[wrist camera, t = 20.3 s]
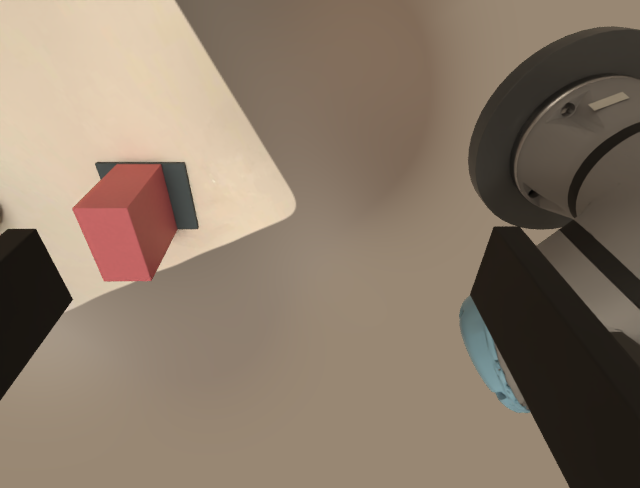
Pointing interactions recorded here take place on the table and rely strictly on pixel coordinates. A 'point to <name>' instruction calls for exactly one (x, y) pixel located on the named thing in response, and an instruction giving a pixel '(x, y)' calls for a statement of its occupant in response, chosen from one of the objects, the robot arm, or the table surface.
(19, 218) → the table surface
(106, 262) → the red rectangular block
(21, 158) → the table surface
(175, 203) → the mat
